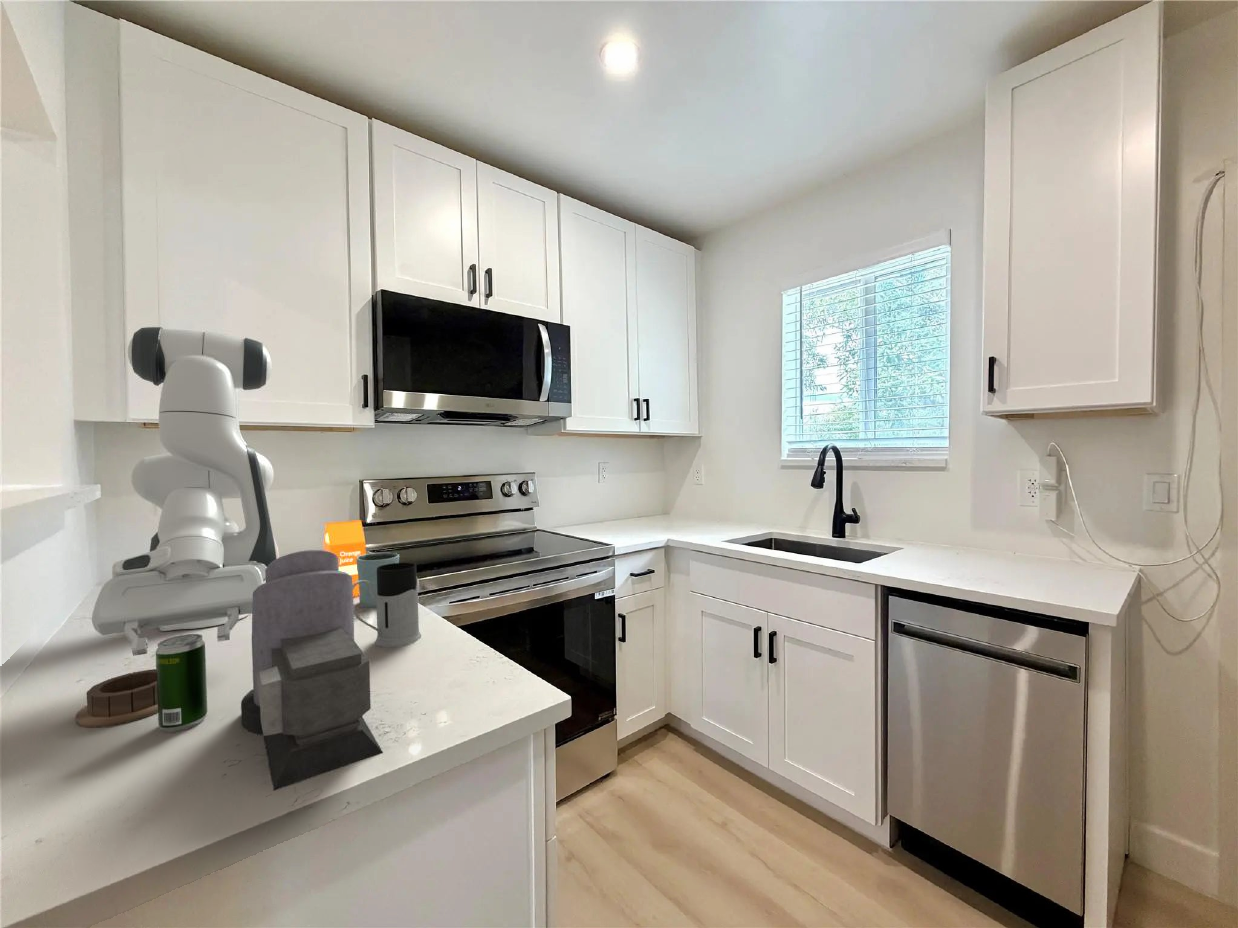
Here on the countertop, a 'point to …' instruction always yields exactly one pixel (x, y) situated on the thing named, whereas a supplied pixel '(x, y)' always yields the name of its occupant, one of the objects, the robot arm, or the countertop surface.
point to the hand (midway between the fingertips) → (182, 645)
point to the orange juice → (346, 546)
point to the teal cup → (371, 574)
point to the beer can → (181, 682)
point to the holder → (395, 604)
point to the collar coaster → (120, 700)
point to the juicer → (307, 670)
